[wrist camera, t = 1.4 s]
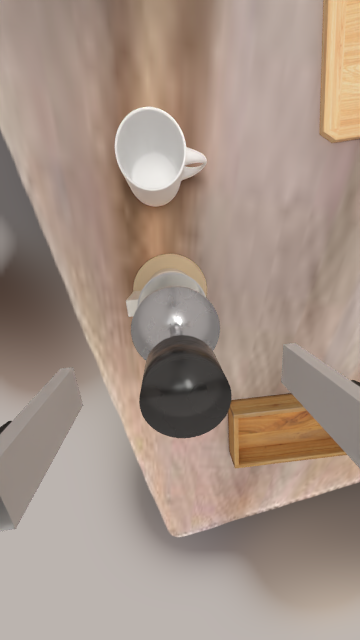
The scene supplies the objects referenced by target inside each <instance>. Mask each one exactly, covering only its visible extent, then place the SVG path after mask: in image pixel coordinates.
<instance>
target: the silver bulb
mask: <svg viewBox="0 0 360 640" xmlns="http://www.w3.org/2000/svg"><path fill="white" fill-rule="evenodd" d="M219 333H220V323H219V318H218V315H217V312H216V310H215V308H214V307H213V305H212V304H211V303H210V301H209V300H208V299H207V298H206V297H205V296H203V295H202V294H201V293H199V292H198V291H196V290H194V289H191V288H188V287H184V286H168V287H164V288H160V289H158V290H156V291H154V292H152V293H151V294H149V295H148V296H147V297H146V298H144V300H143V301H142V302H141V303H140V304H139V306H138V308H137V310H136V312H135V314H134V316H133V319H132V324H131V335H132V340H133V343H134V346H135V348H136V350H137V351H138V353H139V354H140V355H141V356H142V357H143V358H144V360H146V364H145V370H144V375H143V381H142V387H141V392H140V401H139V402H140V409H141V412H142V415H143V417H144V418H145V420H146V421H147V423H148V424H149V425H150V426H151V427H152V428H153V429H155V430H156V431H158V432H160V433H162V434H164V435H167V436H170V437H176V438H190V437H196V436H199V435H202V434H204V433H207V432H209V431H210V430H212V429H213V428H215V427H216V426H217V425H218V424H219V423H220V422H221V421H222V420H223V419H224V417H225V416H226V414H227V412H228V410H229V408H230V404H231V389H230V385H229V383H228V381H227V379H226V377H225V375H224V373H223V371H222V369H221V367H220V365H219V363H218V360H217V358H216V356H215V354H214V352H213V350H214V348H215V346H216V344H217V342H218V338H219Z"/></svg>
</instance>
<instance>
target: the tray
mask: <svg viewBox="0 0 360 640" xmlns="http://www.w3.org/2000/svg"><path fill="white" fill-rule="evenodd" d="M228 425H229V451H230V454H231V458H232V461H233V464H234V467H235V468H243V467H251V466H259V465H267V464H275V463H283V462H292V461H300V460H308V459H316V458H325V457H333V456H341V455H347V454H346V453H345V451H344V450H343V449H342V448H341V447H340V446H339V445H338V444H337V443H336V442H335V441H334V439H333V438H332V437H331V436H330V435H329V434H328V433H327V432H326V431H325V430H324V428H323V427H322V426H321V425H320V424H319V423H318V422H317V421H316V420H315V419H314V418H313V416H312V415H311V414H310V413H309V412H308V411H307V410H306V409H305V408H304V407H303V405H302V404H301V403H300V402H299V401H298V400H297V399H296V398H295V397H294V396H293V394H283V395H274V396H265V397H256V398H248V399H239V400H231V404H230V408H229V410H228Z"/></svg>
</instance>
